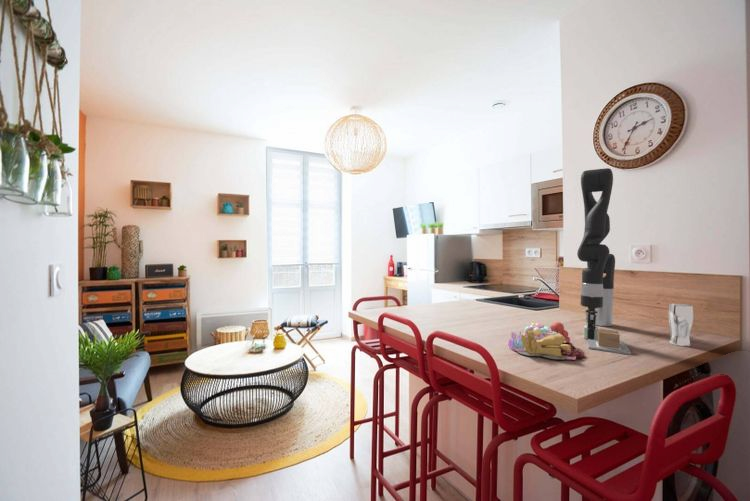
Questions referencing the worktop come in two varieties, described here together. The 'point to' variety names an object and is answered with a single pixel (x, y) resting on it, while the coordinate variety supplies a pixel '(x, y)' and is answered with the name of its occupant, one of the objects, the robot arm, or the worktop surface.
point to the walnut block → (608, 338)
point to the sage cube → (587, 333)
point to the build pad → (622, 347)
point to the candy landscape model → (545, 342)
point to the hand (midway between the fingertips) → (590, 337)
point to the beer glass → (680, 323)
